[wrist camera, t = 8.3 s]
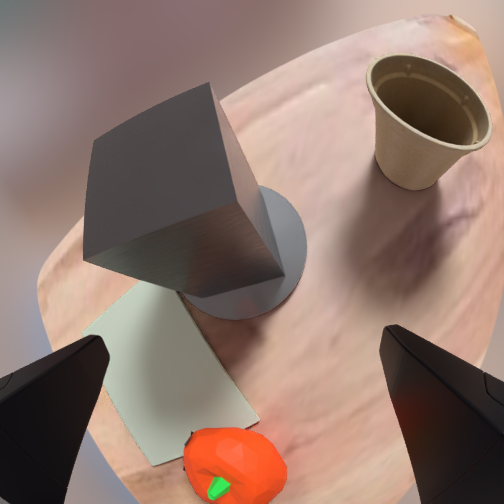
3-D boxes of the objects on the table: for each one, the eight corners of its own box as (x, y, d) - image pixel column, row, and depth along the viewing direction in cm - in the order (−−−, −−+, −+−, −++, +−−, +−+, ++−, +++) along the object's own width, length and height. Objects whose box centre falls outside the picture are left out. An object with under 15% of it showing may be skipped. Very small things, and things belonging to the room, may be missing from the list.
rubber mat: (260, 419, 17) (259, 421, 17) (154, 464, 18) (152, 466, 17) (162, 264, 23) (160, 263, 22) (84, 332, 23) (81, 332, 23)
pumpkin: (225, 490, 16) (191, 531, 10) (190, 419, 18) (141, 451, 12) (305, 483, 15) (288, 536, 9) (272, 405, 17) (241, 449, 11)
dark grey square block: (285, 275, 19) (237, 201, 8) (202, 298, 20) (83, 260, 9) (263, 197, 21) (209, 82, 10) (189, 222, 22) (94, 140, 11)
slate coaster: (336, 260, 19) (337, 258, 19) (217, 347, 20) (215, 347, 19) (253, 164, 23) (251, 161, 23) (155, 240, 23) (152, 238, 23)
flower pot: (459, 216, 17) (510, 163, 9) (359, 204, 20) (376, 134, 12) (441, 131, 20) (466, 68, 12) (354, 118, 22) (357, 45, 14)
